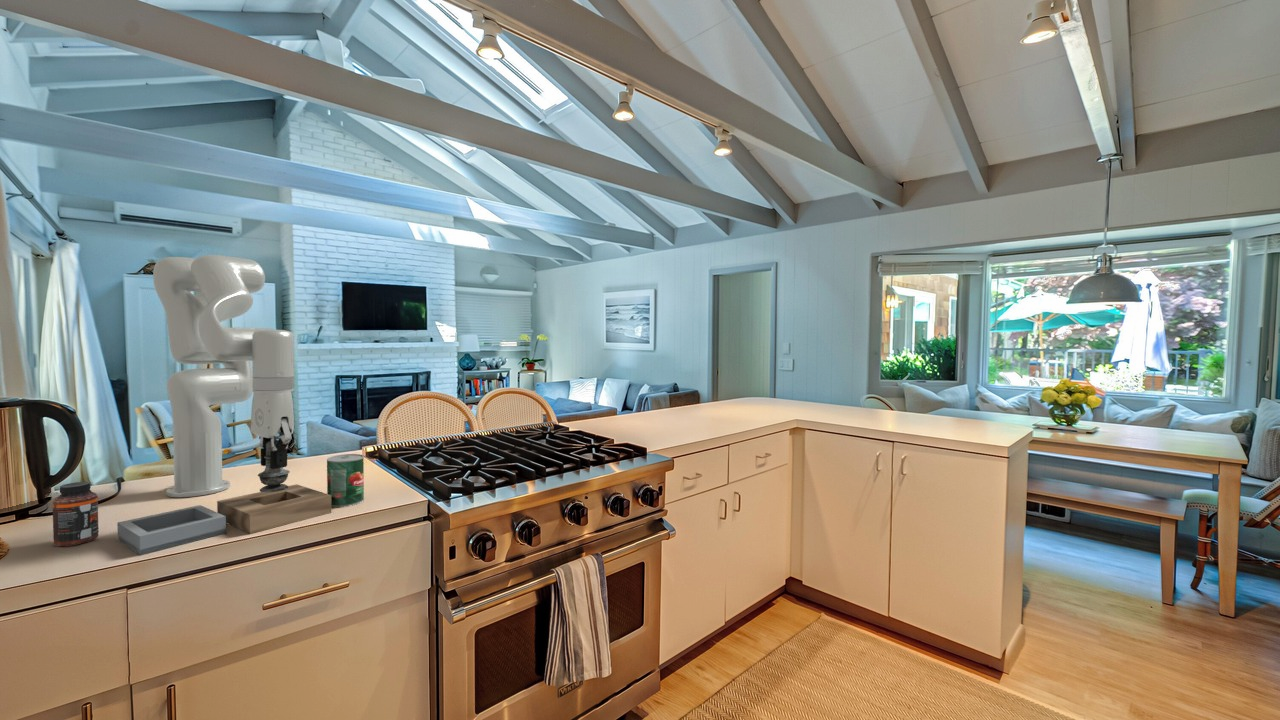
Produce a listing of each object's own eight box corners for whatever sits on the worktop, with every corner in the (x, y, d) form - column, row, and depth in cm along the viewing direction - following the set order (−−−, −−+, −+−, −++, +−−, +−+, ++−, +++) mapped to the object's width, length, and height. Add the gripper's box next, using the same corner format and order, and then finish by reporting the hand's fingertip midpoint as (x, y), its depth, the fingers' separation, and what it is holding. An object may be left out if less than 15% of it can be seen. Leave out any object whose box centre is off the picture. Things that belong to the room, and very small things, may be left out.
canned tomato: (365, 503, 125) (365, 458, 125) (327, 509, 121) (326, 462, 121) (362, 495, 132) (362, 452, 132) (326, 500, 128) (326, 456, 127)
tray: (117, 540, 101) (117, 522, 101) (200, 520, 112) (200, 505, 112) (140, 555, 95) (139, 536, 94) (226, 533, 106) (225, 516, 105)
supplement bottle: (99, 541, 101) (98, 483, 100) (53, 550, 96) (51, 490, 96) (98, 533, 105) (96, 478, 104) (53, 541, 100) (52, 484, 100)
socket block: (217, 518, 114) (217, 500, 114) (296, 500, 127) (296, 484, 127) (250, 534, 105) (249, 514, 105) (331, 512, 119) (331, 495, 119)
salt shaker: (273, 493, 113) (273, 439, 112) (251, 491, 114) (250, 437, 113) (296, 486, 119) (296, 434, 118) (274, 484, 120) (274, 432, 119)
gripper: (237, 383, 116) (237, 463, 117) (272, 389, 108) (272, 475, 109) (274, 381, 123) (275, 457, 124) (310, 386, 114) (310, 468, 115)
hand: (274, 465), depth 116 cm, fingers closed on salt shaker, 3 cm apart
